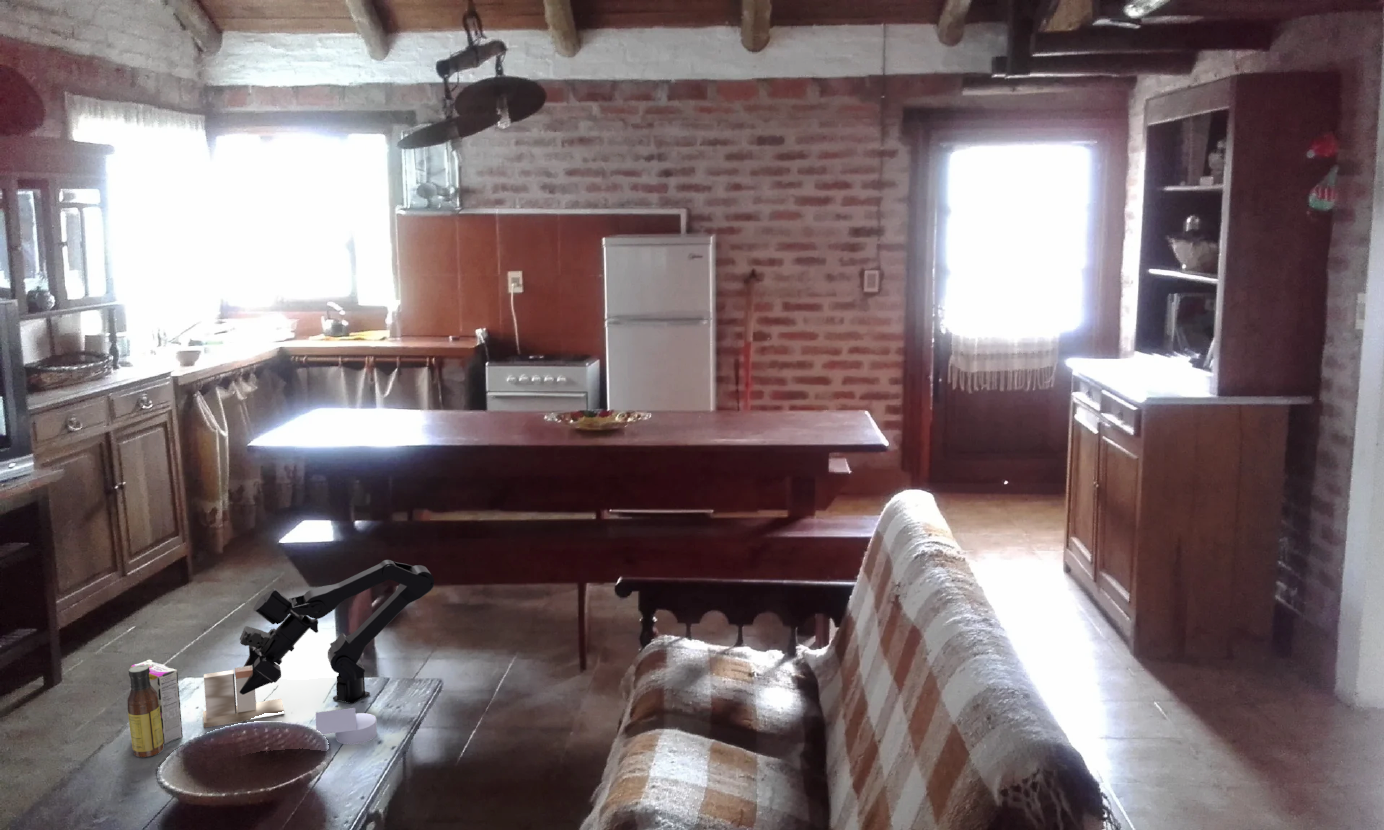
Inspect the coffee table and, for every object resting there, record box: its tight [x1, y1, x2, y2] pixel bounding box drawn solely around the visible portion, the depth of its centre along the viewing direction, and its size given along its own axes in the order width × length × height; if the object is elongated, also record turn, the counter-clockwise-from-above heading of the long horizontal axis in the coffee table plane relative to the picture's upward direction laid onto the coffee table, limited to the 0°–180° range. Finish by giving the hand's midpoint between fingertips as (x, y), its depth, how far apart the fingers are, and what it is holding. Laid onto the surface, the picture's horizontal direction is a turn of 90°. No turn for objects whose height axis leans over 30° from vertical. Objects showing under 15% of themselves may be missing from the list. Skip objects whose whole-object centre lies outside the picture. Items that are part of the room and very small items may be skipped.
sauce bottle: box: [127, 665, 164, 758], centre depth 240 cm, size 6×6×20 cm
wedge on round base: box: [315, 707, 378, 745], centre depth 250 cm, size 9×7×13 cm
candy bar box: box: [129, 659, 184, 745], centre depth 249 cm, size 11×5×16 cm, turn 58°
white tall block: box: [234, 665, 257, 713], centre depth 260 cm, size 4×3×10 cm
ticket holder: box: [202, 669, 285, 729], centre depth 260 cm, size 18×7×11 cm, turn 115°
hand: (240, 686), depth 259 cm, fingers open, 9 cm apart
